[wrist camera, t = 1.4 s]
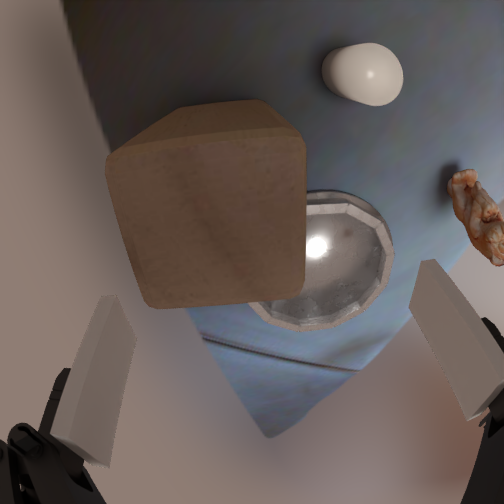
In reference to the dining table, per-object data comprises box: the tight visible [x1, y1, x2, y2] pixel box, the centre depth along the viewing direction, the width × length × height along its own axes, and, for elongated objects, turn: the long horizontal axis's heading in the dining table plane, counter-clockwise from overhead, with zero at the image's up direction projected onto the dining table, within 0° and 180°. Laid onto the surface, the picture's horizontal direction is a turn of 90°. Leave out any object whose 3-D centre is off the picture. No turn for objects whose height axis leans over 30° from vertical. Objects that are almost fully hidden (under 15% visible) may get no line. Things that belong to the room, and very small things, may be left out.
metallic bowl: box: [248, 190, 395, 332], centre depth 40 cm, size 22×22×2 cm
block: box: [105, 99, 307, 309], centre depth 24 cm, size 10×10×20 cm
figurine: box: [447, 169, 504, 266], centre depth 29 cm, size 6×8×15 cm
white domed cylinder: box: [321, 43, 403, 106], centre depth 25 cm, size 6×6×7 cm
